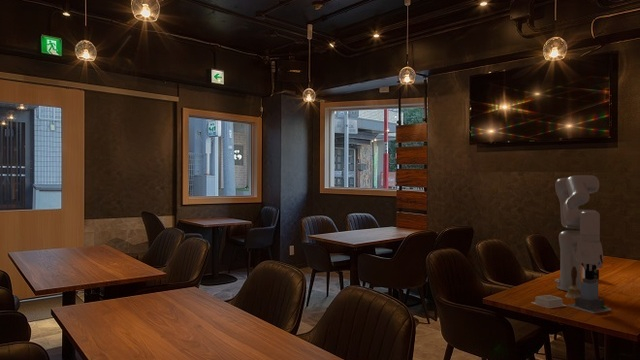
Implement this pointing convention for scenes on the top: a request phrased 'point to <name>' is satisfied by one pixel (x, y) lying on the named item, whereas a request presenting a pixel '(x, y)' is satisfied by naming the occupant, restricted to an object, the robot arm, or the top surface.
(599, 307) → the port
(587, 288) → the plug
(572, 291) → the hand bell
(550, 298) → the box
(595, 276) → the medicine bottle
